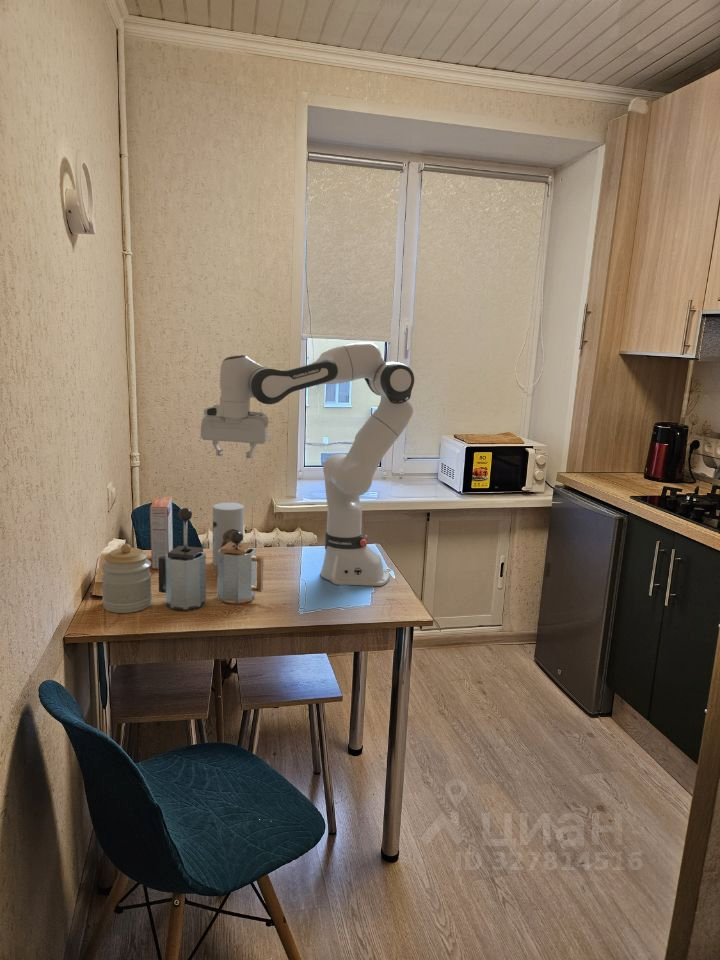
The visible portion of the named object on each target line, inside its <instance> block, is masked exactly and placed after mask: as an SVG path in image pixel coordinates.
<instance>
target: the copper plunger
mask: <svg viewBox="0 0 720 960" xmlns="http://www.w3.org/2000/svg"><path fill="white" fill-rule="evenodd" d="M231 541H232V542H233V543H235V547H237V548H239V543H241V542H242V541H243V542H244V533H243V534H242V533H241V532H239V531H235V532H233V533H232V534H231ZM235 555H239V554H235Z"/></svg>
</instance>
